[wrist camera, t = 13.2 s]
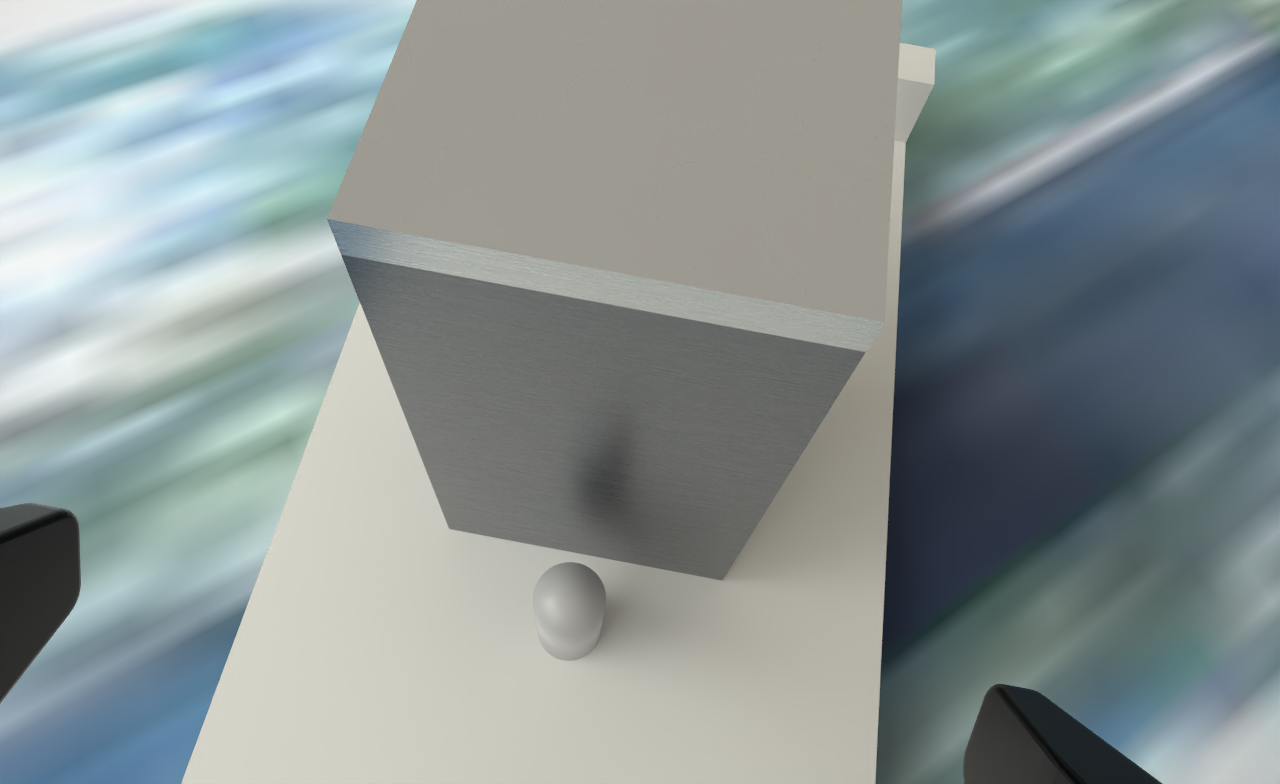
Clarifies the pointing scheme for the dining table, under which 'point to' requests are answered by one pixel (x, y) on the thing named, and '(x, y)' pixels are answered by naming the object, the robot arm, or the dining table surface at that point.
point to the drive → (624, 256)
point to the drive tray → (562, 615)
